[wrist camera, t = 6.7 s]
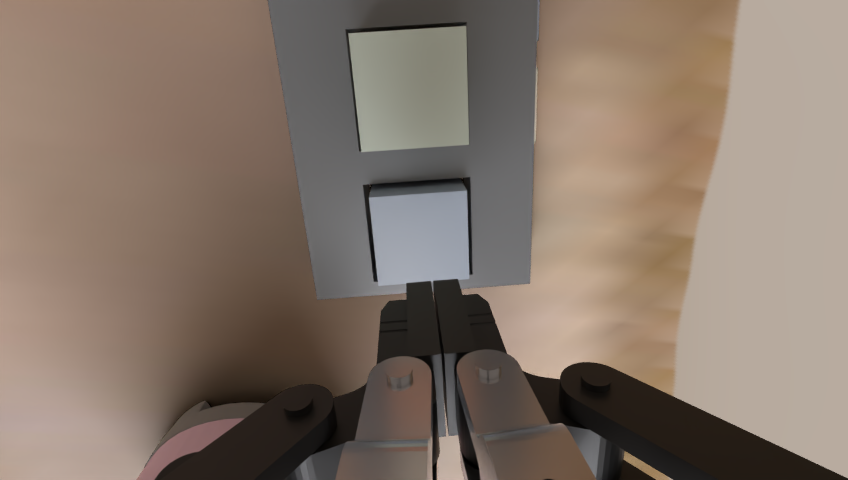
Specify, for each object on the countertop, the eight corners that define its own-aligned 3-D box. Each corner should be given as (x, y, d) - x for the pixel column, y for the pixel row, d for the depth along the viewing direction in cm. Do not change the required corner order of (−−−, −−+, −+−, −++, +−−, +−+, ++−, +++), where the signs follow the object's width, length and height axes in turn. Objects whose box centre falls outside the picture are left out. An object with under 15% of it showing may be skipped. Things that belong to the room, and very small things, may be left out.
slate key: (373, 180, 21) (368, 197, 18) (458, 174, 21) (466, 190, 18) (381, 258, 22) (378, 285, 20) (460, 252, 22) (469, 278, 20)
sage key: (356, 39, 18) (348, 33, 15) (456, 32, 18) (466, 26, 15) (367, 140, 19) (361, 152, 16) (459, 133, 19) (468, 144, 17)
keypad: (223, -388, 15) (189, -476, 12) (533, -401, 15) (558, -490, 12) (325, 276, 23) (317, 299, 21) (521, 262, 23) (534, 283, 21)
